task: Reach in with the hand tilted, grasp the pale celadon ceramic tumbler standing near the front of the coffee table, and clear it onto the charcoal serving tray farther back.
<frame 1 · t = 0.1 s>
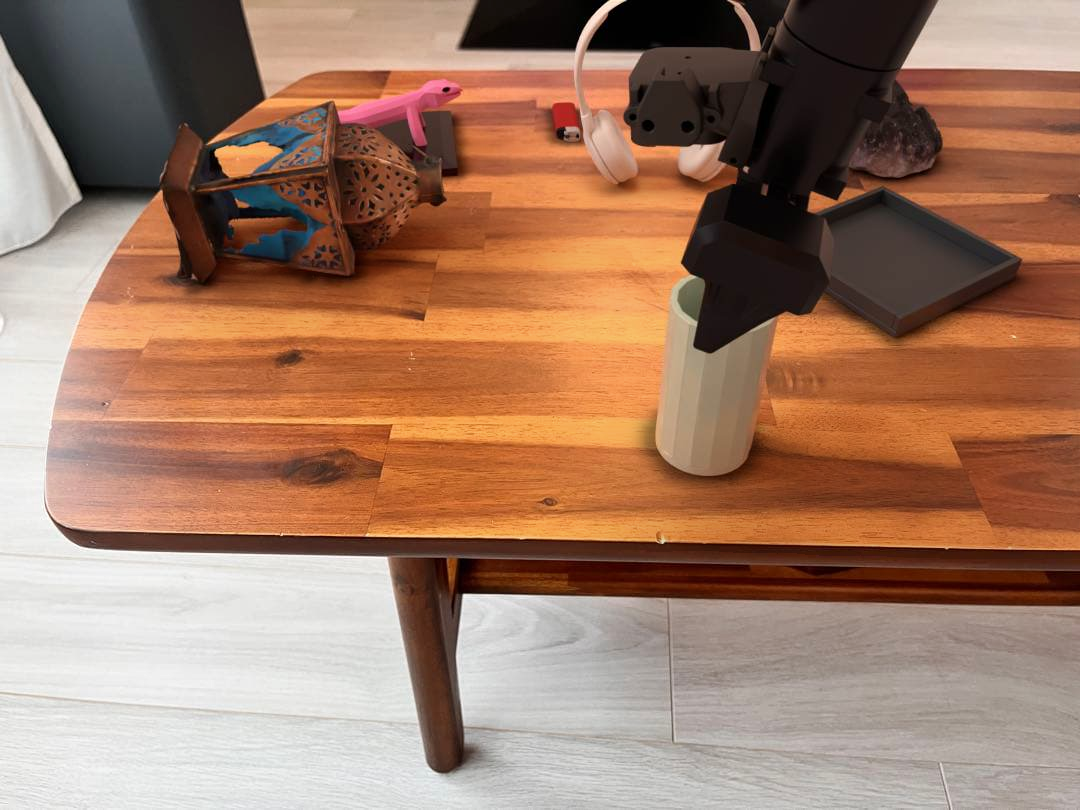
hand: (715, 300, 51), 17 cm above the table, tool pointing down, fingers open, 9 cm apart
tumbler: (702, 442, 67), on the table
lizard figurine: (380, 151, 103), on the table
headphones: (656, 180, 97), on the table
crystal cluster: (874, 154, 101), on the table
lantern: (320, 252, 87), on the table
lighter: (566, 128, 107), on the table
tray: (885, 264, 84), on the table
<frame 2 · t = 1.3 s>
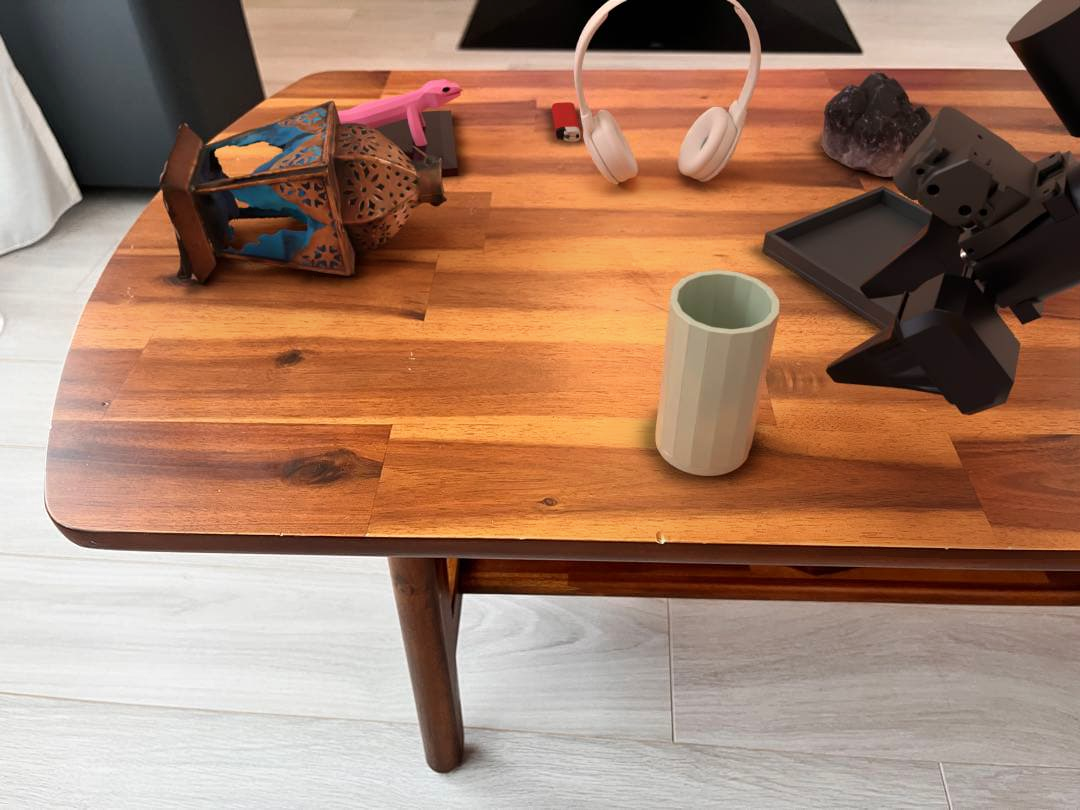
hand: (847, 331, 55), 13 cm above the table, tool tilted 45°, fingers open, 9 cm apart
nothing on the table moved.
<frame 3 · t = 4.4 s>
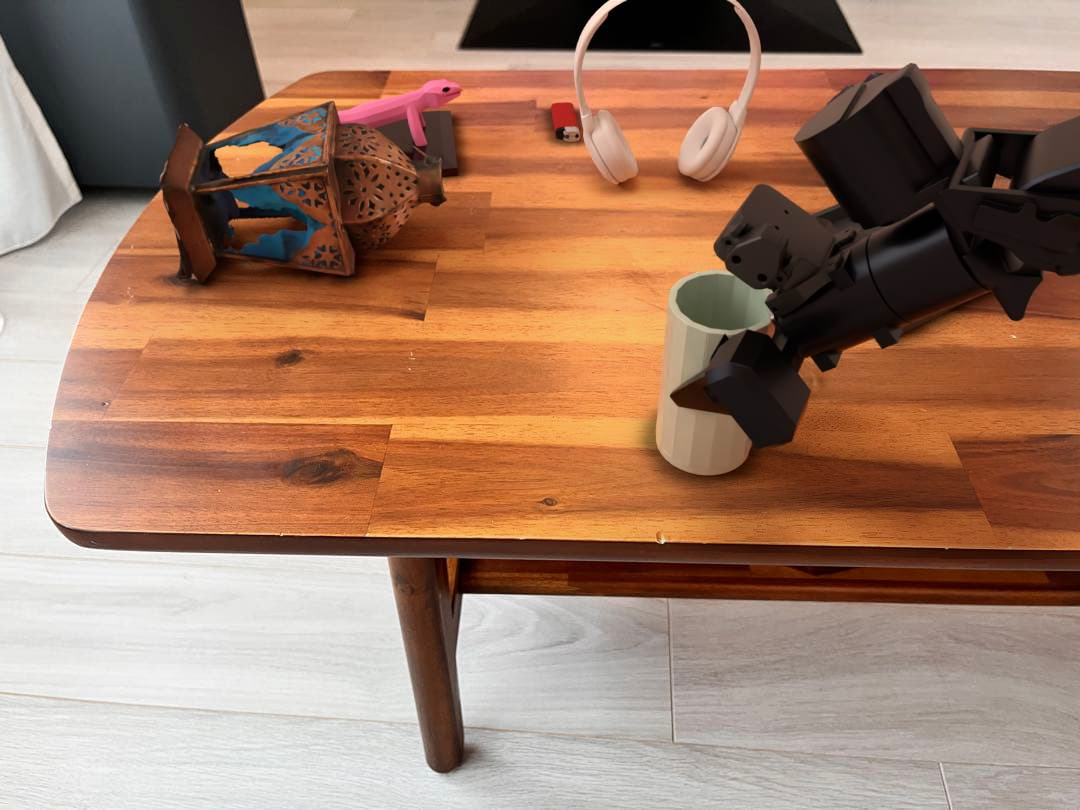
hand: (693, 367, 63), 7 cm above the table, tool tilted 45°, fingers closed on tumbler, 7 cm apart
tumbler: (702, 441, 67), on the table, touching gripper
everything else where it was.
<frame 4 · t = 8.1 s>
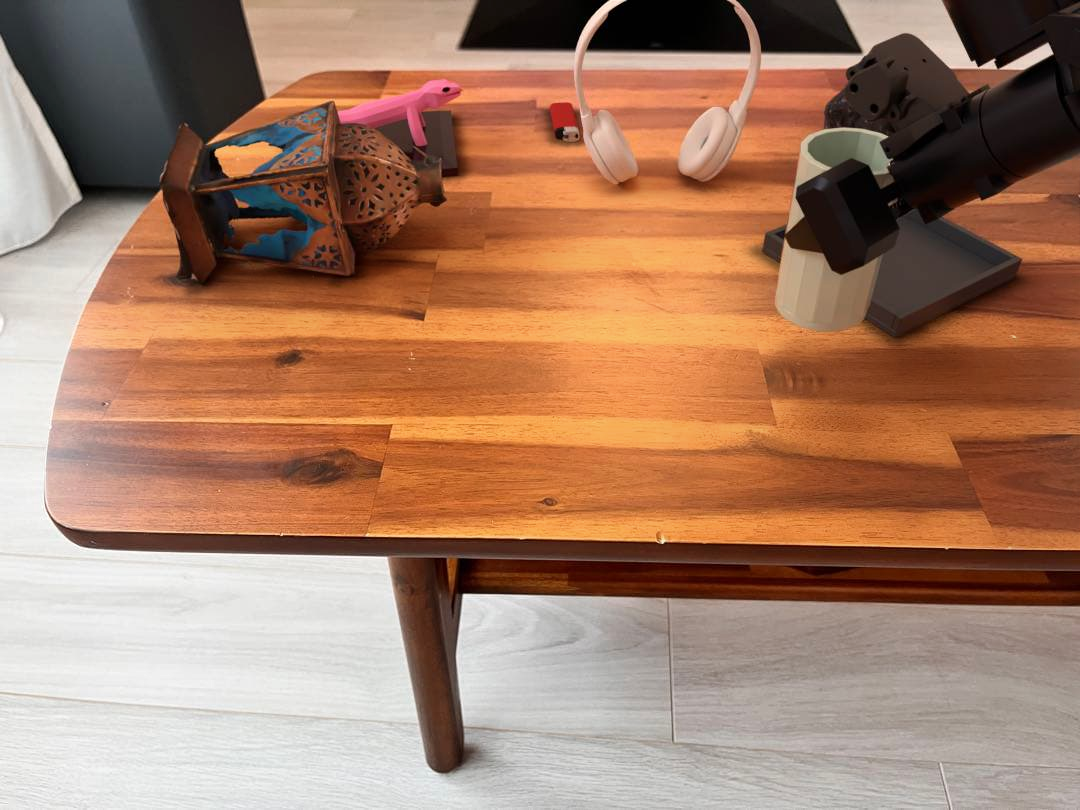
hand: (820, 223, 66), 12 cm above the table, tool tilted 45°, fingers closed on tumbler, 7 cm apart
tumbler: (820, 305, 70), point 6 cm above the table, touching gripper
everything else where it was.
when the fingers open (7 cm above the table, at t = 12.1 s): tumbler stays where it is, resting on tray.
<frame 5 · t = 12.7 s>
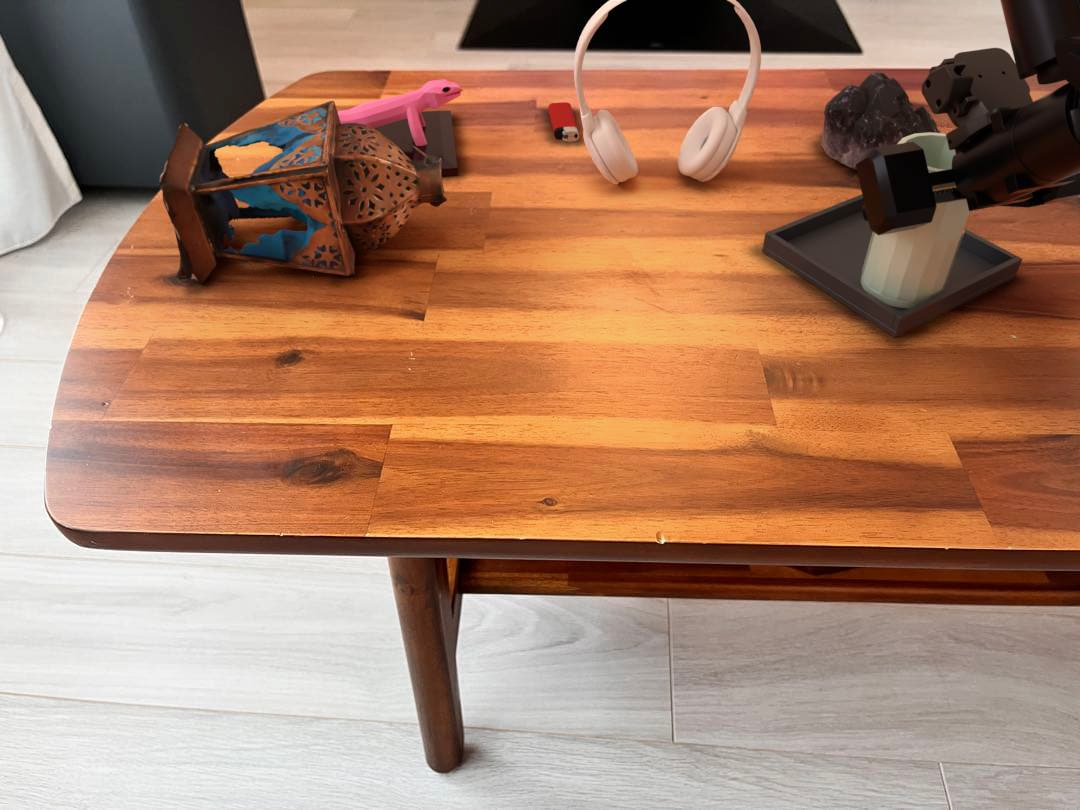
hand: (911, 205, 77), 8 cm above the table, tool tilted 45°, fingers open, 9 cm apart
tumbler: (900, 286, 81), point 1 cm above the table, touching tray
everything else where it was.
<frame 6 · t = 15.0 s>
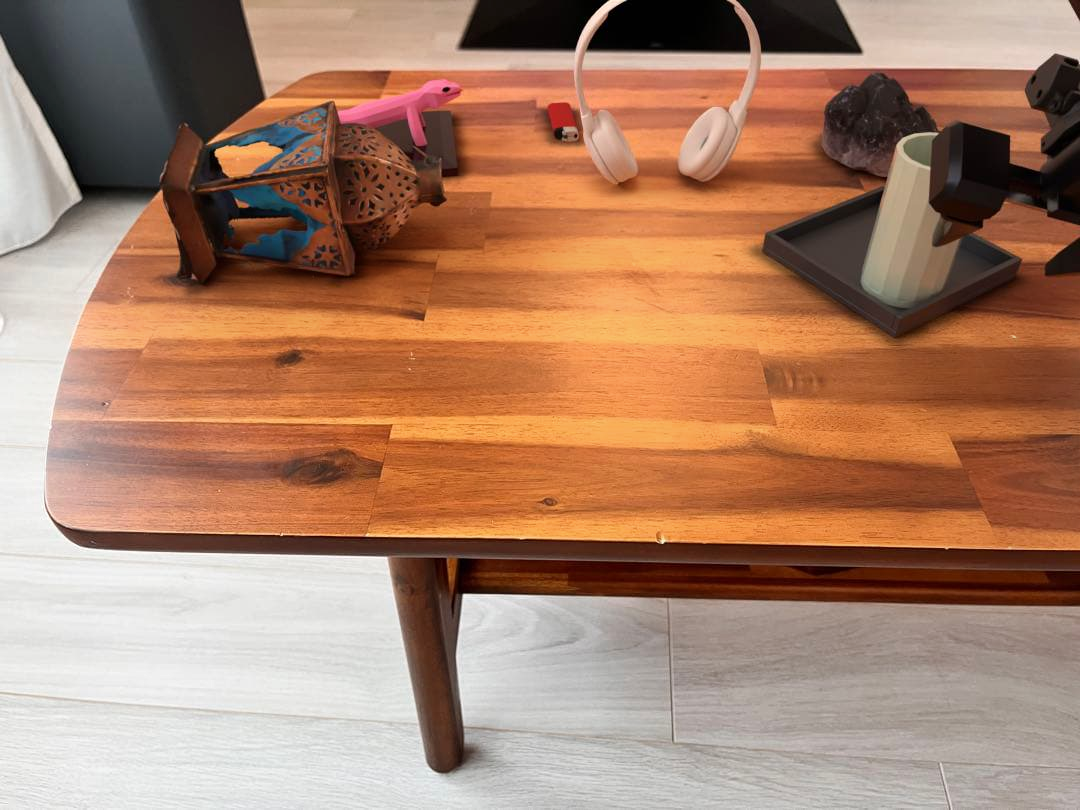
hand: (990, 256, 68), 10 cm above the table, tool tilted 30°, fingers open, 9 cm apart
nothing on the table moved.
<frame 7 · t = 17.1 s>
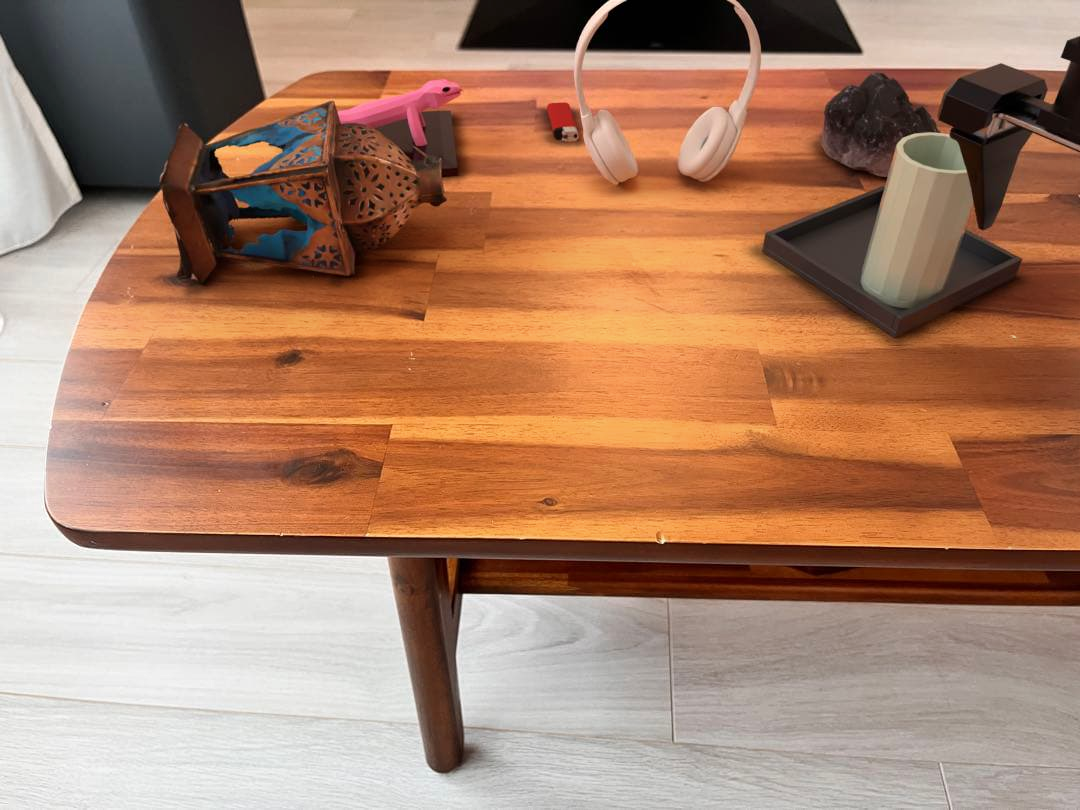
hand: (1041, 257, 62), 13 cm above the table, tool pointing down, fingers open, 9 cm apart
nothing on the table moved.
at the end: tumbler inside the target area in the tray (4.4 cm from its centre), point 0.6 cm above the tray's base; tumbler tilted 0°; the gripper is holding nothing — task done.
